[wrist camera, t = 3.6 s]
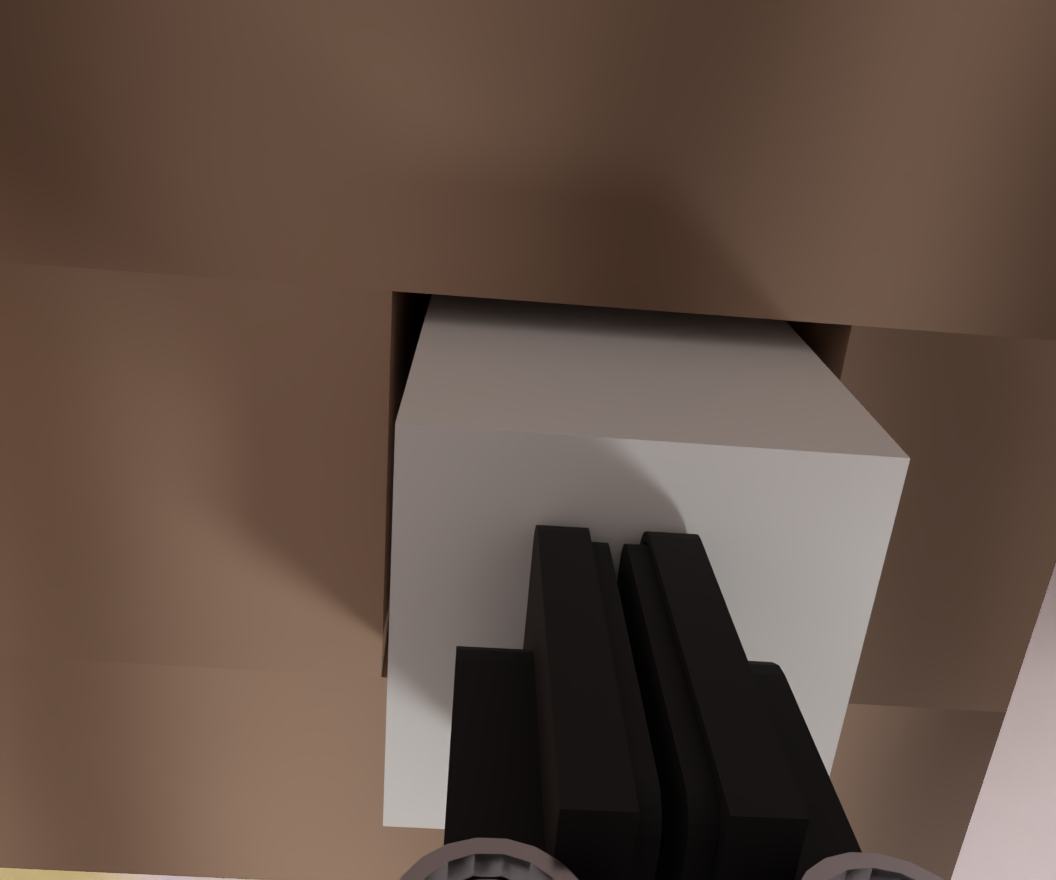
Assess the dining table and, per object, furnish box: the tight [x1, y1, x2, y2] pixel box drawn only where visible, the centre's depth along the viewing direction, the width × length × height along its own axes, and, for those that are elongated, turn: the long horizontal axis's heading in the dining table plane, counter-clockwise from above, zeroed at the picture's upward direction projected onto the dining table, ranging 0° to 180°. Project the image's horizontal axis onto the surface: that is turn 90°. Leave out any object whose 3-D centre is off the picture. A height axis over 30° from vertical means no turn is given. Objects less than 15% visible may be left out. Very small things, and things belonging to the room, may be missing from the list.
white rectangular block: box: [383, 294, 910, 829], centre depth 14 cm, size 5×5×8 cm
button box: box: [0, 0, 1056, 880], centre depth 16 cm, size 28×14×6 cm, turn 85°
